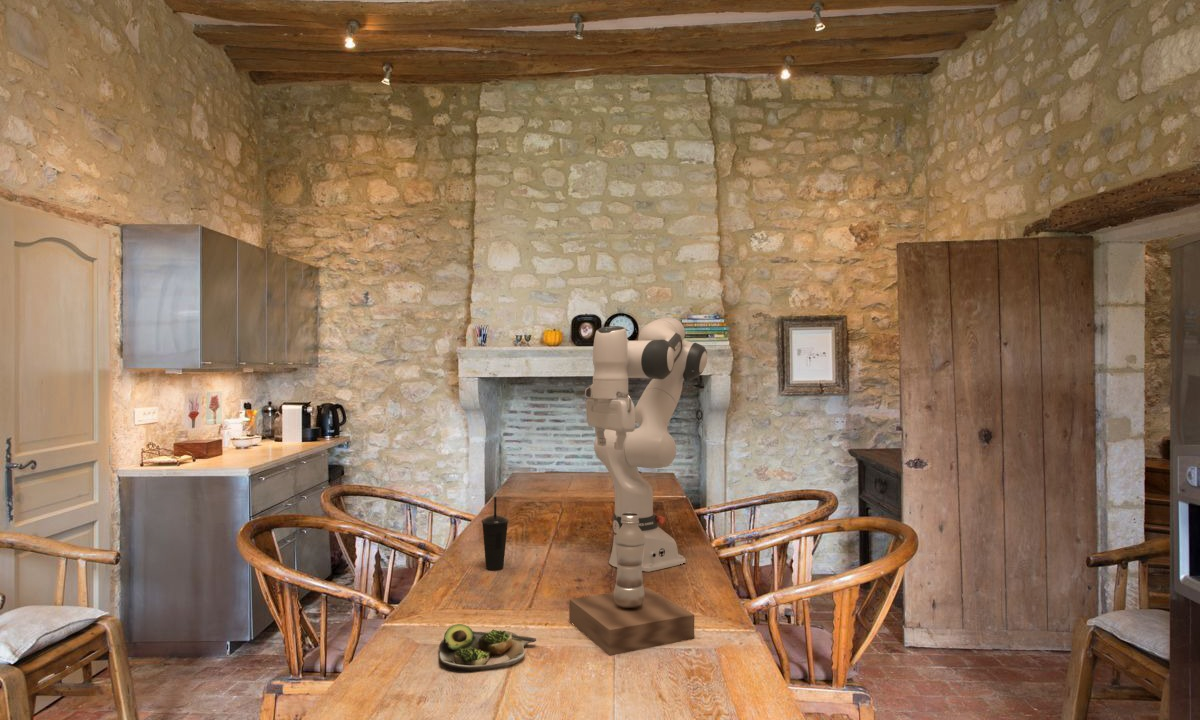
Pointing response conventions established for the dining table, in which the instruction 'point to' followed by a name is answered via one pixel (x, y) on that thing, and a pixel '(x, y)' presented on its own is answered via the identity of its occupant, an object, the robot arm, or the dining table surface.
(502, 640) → the avocado toast plate
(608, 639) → the walnut base
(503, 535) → the drinking cup
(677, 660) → the dining table surface
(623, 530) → the plastic bottle
